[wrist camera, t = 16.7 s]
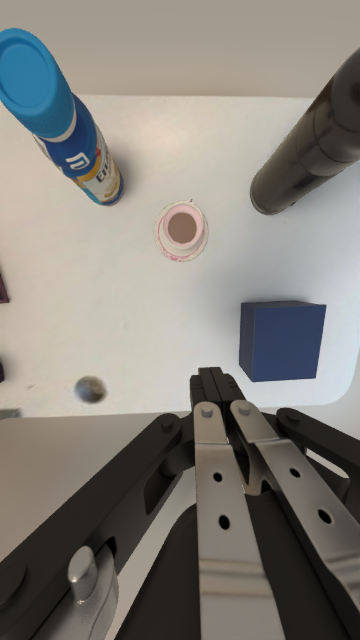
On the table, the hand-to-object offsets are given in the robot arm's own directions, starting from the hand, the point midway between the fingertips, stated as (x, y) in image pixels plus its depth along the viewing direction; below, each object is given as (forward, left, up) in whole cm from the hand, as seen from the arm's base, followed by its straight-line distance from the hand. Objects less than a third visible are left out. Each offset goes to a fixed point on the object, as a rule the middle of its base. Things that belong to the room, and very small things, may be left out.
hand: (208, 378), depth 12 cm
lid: (0, +22, -23) cm, 32 cm away
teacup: (-16, -6, -31) cm, 35 cm away
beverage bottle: (-20, -24, -31) cm, 44 cm away
